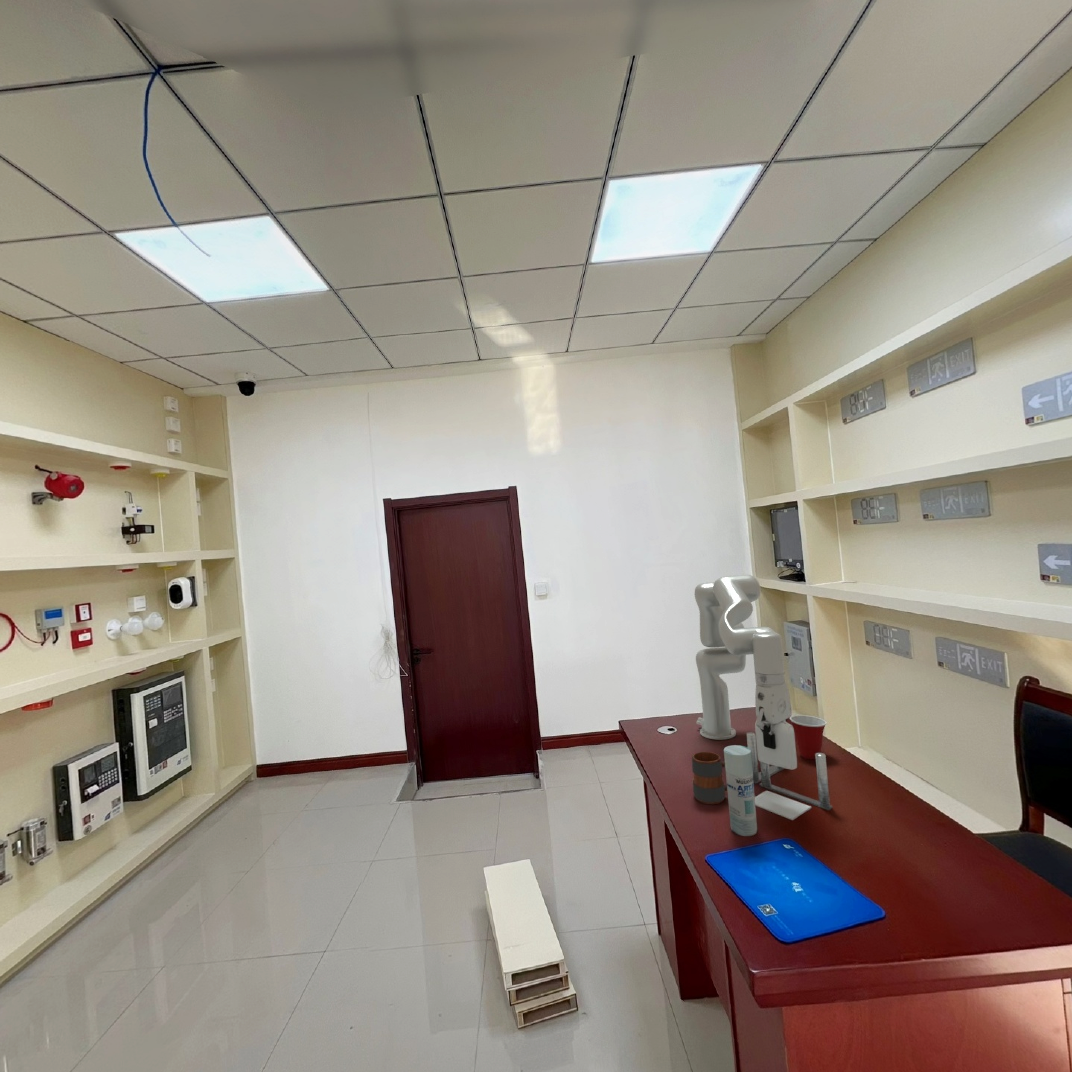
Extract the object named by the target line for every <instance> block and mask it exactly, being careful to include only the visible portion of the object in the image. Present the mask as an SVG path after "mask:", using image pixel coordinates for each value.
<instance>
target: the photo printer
mask: <svg viewBox="0 0 1072 1072" xmlns="http://www.w3.org/2000/svg"><path fill="white" fill-rule="evenodd" d="M766 721H767V720H766ZM756 722H757V719H756V720H755V723H754V729H755V738H756V750H757V761H759V763H760V762H763V763H767V764H769V765H771V766H773V765H774V766H778V767H782V768H785V769H787V770H795V769H797V768H798V758H797V750H796V737H795V733H794V728H793V725H792V723H791V724H790V723H789V722H788V721H787V722H785V721H781V722H779V723H777V724H774V725H773V734H775V743H776V749H771V748H767V747H765V746H764V741H763V733H762V732H761V729H760V728H759V727H757V726H756ZM766 726H767V727H768V728H769V724H766Z"/></svg>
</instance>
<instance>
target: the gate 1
mask: <svg viewBox="0 0 1072 1072" xmlns="http://www.w3.org/2000/svg"><path fill="white" fill-rule="evenodd" d="M746 742H747V743H746V744H747V748H749V749H750V750H751V757H752V770H753V783H754V784H758V783H759V784H760V782H762V779H761V771H760V772H759V762H758V761H759V760H758V754H757V743H756V732H755V733H754V732H750V731H749V732H746ZM769 769H770V777H771V776H773V775H775V774H777V773H779V772H781V771H784V769H786V768H782V767H778V766H774V765H771V766H769Z"/></svg>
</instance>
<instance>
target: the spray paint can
mask: <svg viewBox="0 0 1072 1072" xmlns="http://www.w3.org/2000/svg"><path fill="white" fill-rule="evenodd" d="M723 756H724V762H725V767H724V768H725V778H726V784H727V791H726V792H727V800H728V810H729V811H728V813H729V822H730V828H731V829H730V831H732V833H734V834H735V835H739V836H742V837H752V836H754V835H756V834H757V832H758V824H757V811H756V810H757V809H756V806H755V797H756V795H755V783H753V770H752V757H751V750H750V749H749V748H748V746H744V745H738V744H737V745H736V744H734V745H728V746H725V747H724V749H723Z"/></svg>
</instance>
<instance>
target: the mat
mask: <svg viewBox="0 0 1072 1072" xmlns="http://www.w3.org/2000/svg"><path fill="white" fill-rule="evenodd" d="M755 807H757V808H760V809H763V810H766V811H768V812H770V813H771V812H772V813H773V814H776V815H779V816H780V817H784V818H786V819H788V820H791V821H794V820H795V819H797V818H798V817H800V816H802V815H803V814H804V813H806V812H807V811H810V810H811V809H812V806H811V805H807V804H805V803H802V802H799V801H797V800H794V799H791V798H789V797H786V796H783V795H780V794H777V793H776V792H772V791H770V790H769V791H768V790H765V791H763V792H761V793H759V794H758V795H757V796H756V795H755Z"/></svg>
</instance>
